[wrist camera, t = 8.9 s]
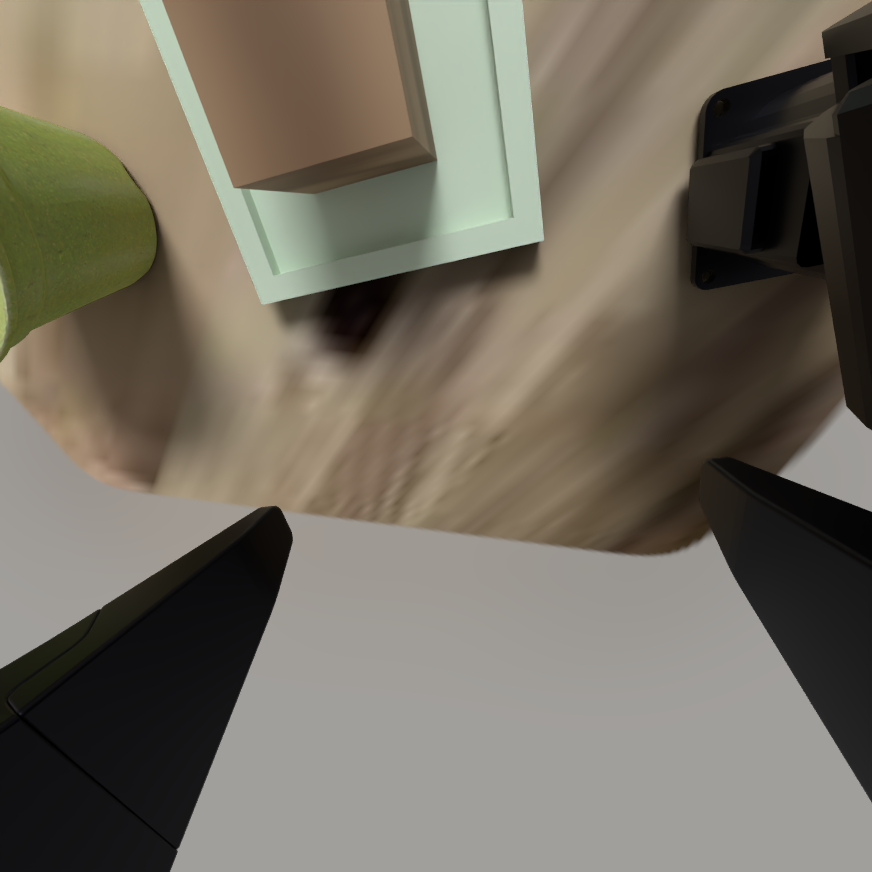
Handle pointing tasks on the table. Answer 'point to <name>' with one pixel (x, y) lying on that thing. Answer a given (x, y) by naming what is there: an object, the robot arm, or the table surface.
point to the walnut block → (307, 89)
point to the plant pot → (63, 224)
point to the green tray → (407, 189)
